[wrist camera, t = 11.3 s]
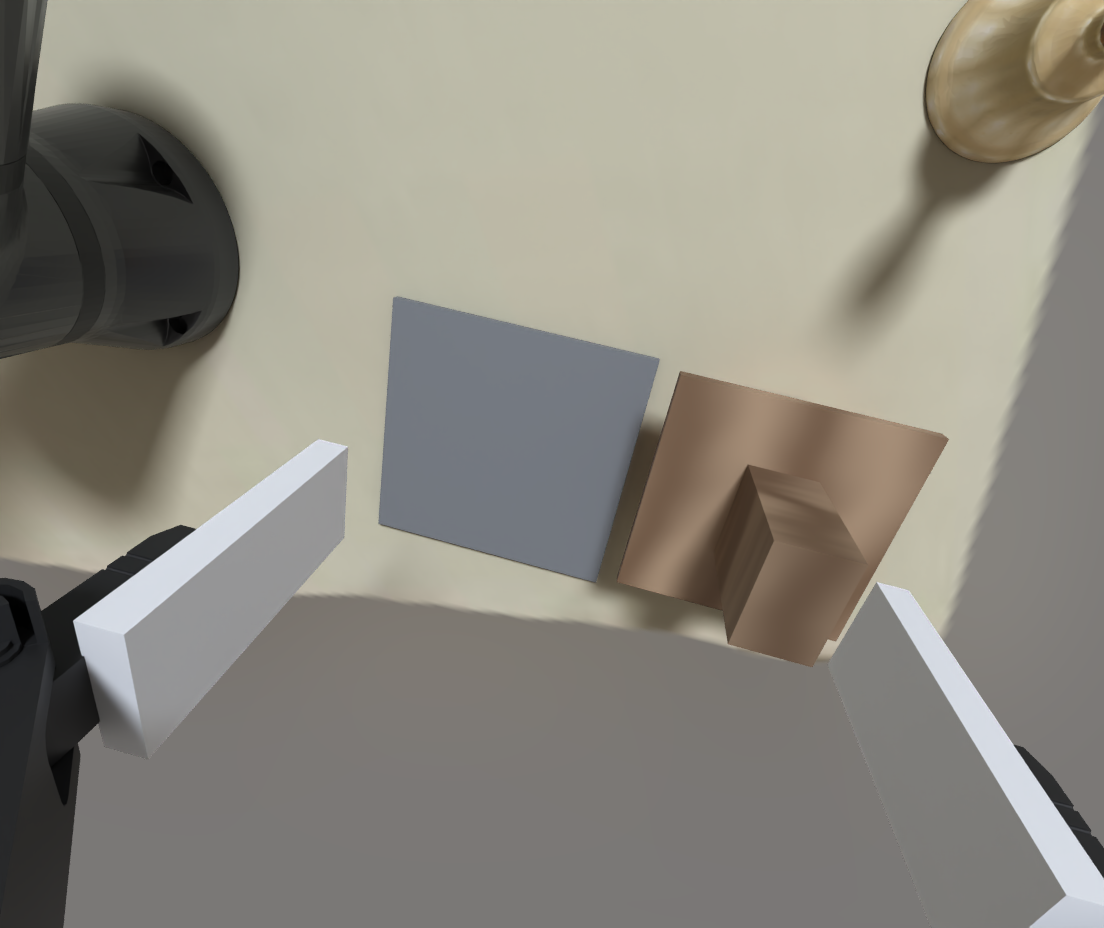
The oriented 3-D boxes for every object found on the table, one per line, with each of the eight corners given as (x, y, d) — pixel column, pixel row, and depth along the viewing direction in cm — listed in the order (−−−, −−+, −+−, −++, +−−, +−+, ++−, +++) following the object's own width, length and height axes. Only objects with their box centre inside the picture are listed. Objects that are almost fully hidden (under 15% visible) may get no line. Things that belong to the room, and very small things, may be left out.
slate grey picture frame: (381, 519, 45) (378, 523, 45) (397, 296, 38) (393, 297, 37) (596, 578, 44) (595, 582, 43) (659, 358, 36) (659, 360, 36)
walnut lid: (617, 574, 36) (605, 675, 29) (680, 370, 30) (686, 427, 22) (832, 632, 35) (881, 753, 28) (941, 433, 29) (1045, 516, 21)
